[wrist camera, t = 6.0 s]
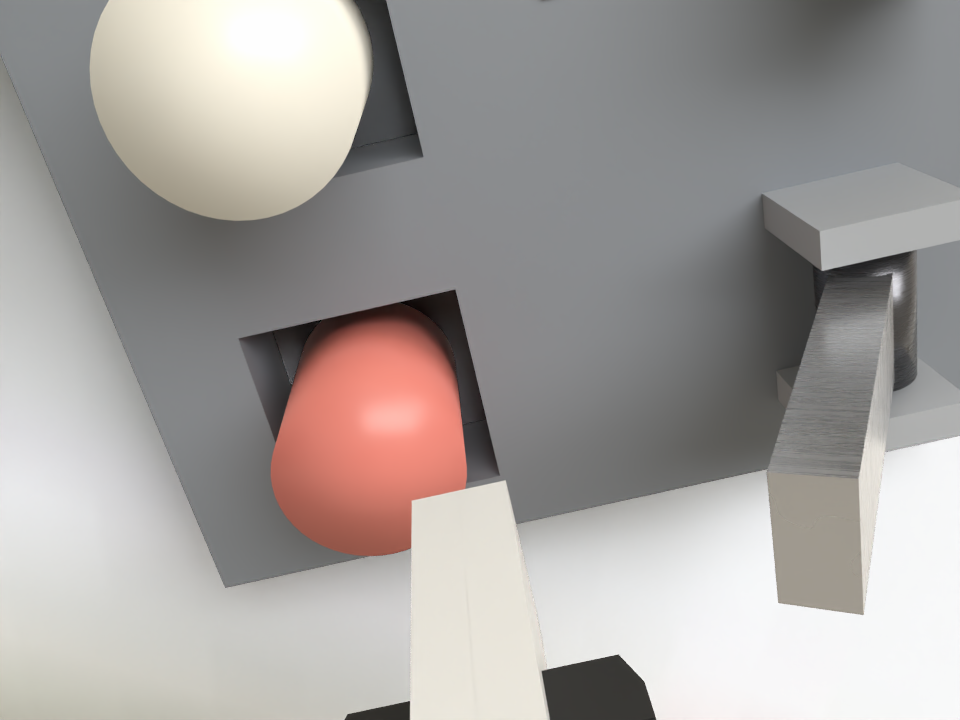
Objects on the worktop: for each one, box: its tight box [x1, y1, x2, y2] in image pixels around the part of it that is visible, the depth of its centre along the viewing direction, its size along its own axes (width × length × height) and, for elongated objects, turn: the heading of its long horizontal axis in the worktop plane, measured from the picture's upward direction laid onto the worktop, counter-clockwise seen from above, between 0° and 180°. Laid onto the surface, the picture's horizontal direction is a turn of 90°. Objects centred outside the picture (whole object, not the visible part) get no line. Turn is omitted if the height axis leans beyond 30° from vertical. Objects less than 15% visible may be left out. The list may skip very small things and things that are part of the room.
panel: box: [0, 0, 960, 588], centre depth 19 cm, size 20×16×6 cm
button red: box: [271, 302, 467, 556], centre depth 20 cm, size 4×4×5 cm
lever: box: [767, 250, 917, 615], centre depth 16 cm, size 2×3×9 cm, turn 13°
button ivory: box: [90, 0, 374, 221], centre depth 16 cm, size 4×4×5 cm
